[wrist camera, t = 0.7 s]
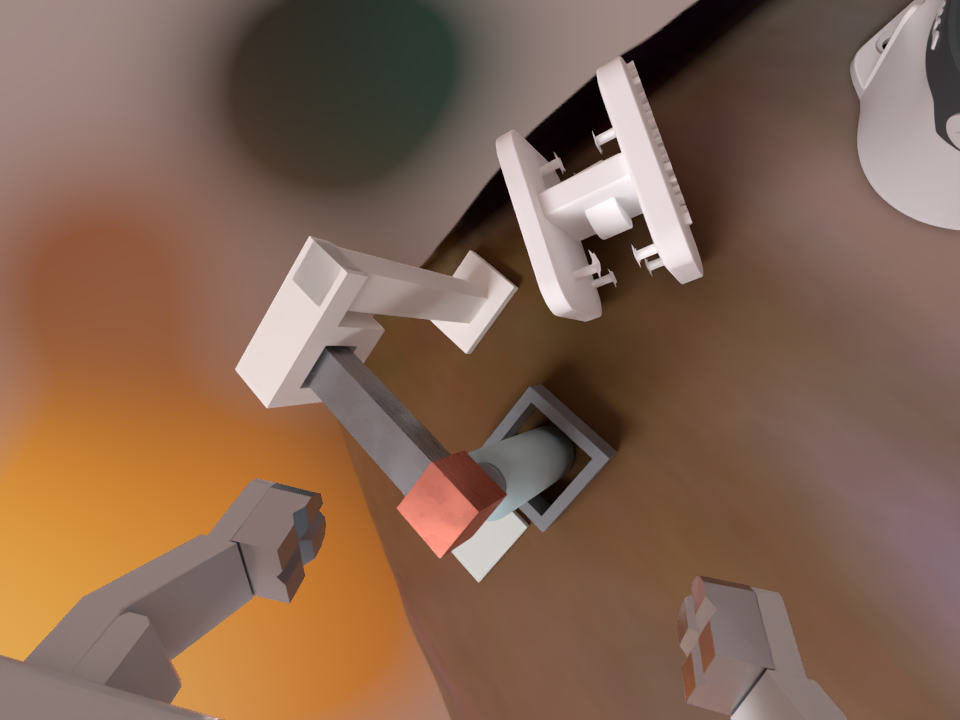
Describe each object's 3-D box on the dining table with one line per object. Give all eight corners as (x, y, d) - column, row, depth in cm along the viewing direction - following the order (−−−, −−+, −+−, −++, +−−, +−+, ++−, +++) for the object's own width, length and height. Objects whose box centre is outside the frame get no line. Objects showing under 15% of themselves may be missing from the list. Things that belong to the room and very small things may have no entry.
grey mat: (471, 464, 52) (468, 466, 51) (529, 525, 49) (527, 527, 48) (427, 519, 54) (424, 521, 53) (481, 580, 51) (478, 582, 51)
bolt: (314, 296, 40) (272, 290, 36) (507, 494, 33) (478, 512, 29) (290, 336, 41) (247, 335, 38) (472, 537, 34) (440, 558, 30)
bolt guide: (474, 251, 51) (318, 193, 32) (518, 288, 49) (379, 247, 30) (403, 358, 55) (227, 360, 36) (440, 395, 53) (275, 418, 34)
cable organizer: (539, 171, 48) (483, 121, 38) (652, 112, 43) (624, 36, 33) (589, 324, 46) (544, 315, 36) (714, 279, 42) (703, 254, 31)
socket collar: (541, 384, 48) (529, 386, 45) (617, 452, 45) (609, 458, 42) (486, 454, 51) (471, 459, 48) (554, 522, 48) (543, 532, 45)
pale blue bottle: (544, 414, 48) (476, 435, 36) (585, 452, 46) (528, 488, 34) (512, 453, 50) (437, 486, 37) (551, 491, 48) (485, 539, 36)
